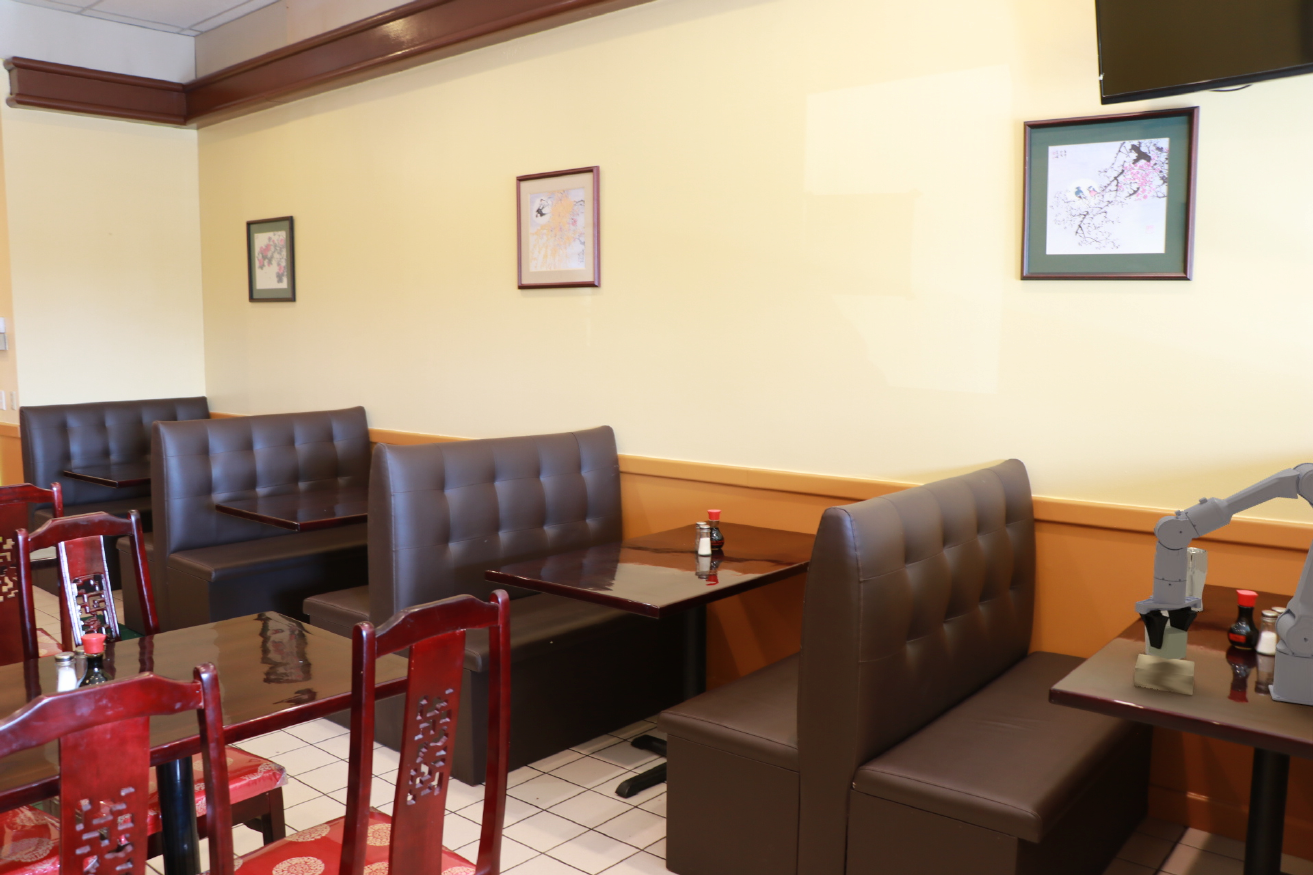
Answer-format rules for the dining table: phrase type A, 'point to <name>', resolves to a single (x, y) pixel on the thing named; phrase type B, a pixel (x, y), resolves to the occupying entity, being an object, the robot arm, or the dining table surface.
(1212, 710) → the dining table surface
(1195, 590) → the beer glass
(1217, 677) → the dining table surface
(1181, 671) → the bamboo box
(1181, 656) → the sage block
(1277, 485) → the robot arm
